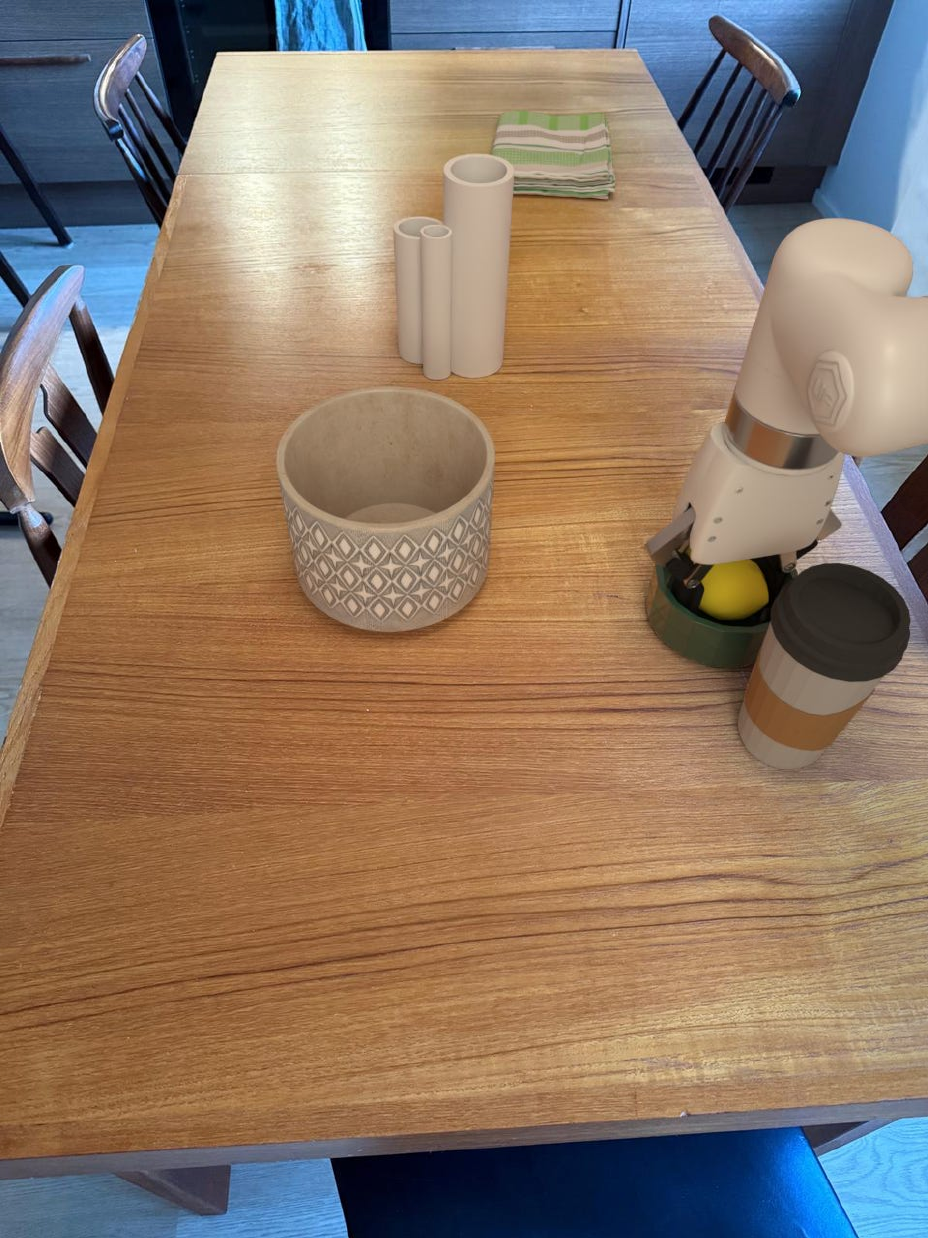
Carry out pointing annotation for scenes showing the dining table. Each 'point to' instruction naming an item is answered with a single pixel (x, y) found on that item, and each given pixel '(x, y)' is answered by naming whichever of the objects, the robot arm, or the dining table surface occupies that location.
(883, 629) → the coffee cup
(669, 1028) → the dining table surface
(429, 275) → the vase
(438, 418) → the planter
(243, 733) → the dining table surface
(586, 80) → the dining table surface
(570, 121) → the dish towel
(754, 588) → the lemon
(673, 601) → the bowl
